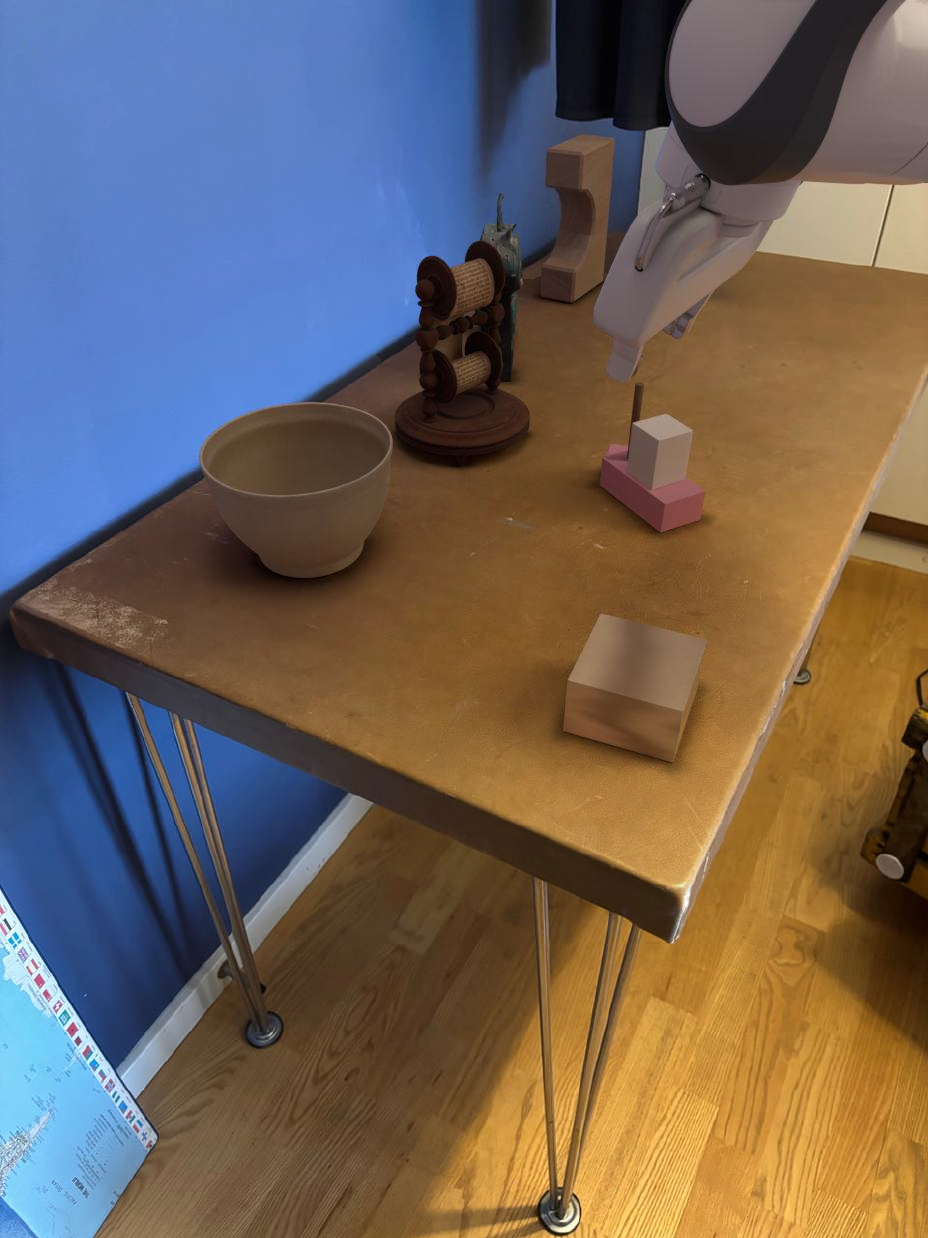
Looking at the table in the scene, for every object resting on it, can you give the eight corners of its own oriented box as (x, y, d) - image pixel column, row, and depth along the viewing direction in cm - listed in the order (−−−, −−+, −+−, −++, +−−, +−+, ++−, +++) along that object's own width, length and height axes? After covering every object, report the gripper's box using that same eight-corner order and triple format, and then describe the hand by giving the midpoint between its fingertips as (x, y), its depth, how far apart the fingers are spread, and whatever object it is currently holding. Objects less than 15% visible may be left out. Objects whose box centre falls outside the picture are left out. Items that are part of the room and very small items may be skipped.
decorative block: (572, 304, 132) (582, 152, 120) (537, 297, 134) (544, 148, 122) (604, 282, 139) (617, 137, 127) (571, 276, 142) (580, 132, 129)
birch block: (697, 689, 69) (707, 639, 66) (673, 763, 63) (683, 711, 60) (595, 662, 71) (600, 612, 68) (562, 731, 65) (567, 680, 62)
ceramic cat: (520, 387, 110) (526, 212, 98) (467, 387, 111) (466, 213, 98) (516, 325, 126) (521, 168, 113) (469, 325, 126) (469, 168, 113)
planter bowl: (187, 553, 83) (161, 446, 77) (324, 486, 92) (311, 386, 86) (295, 629, 75) (277, 516, 68) (435, 548, 84) (431, 441, 77)
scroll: (463, 394, 109) (461, 218, 97) (556, 434, 101) (567, 247, 88) (368, 435, 101) (353, 249, 89) (461, 483, 93) (458, 285, 80)
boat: (700, 519, 87) (719, 413, 80) (660, 533, 85) (676, 426, 78) (626, 465, 95) (638, 365, 88) (588, 476, 94) (597, 375, 87)
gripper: (712, 223, 49) (621, 429, 59) (824, 152, 62) (734, 330, 72) (614, 172, 51) (541, 382, 61) (744, 114, 64) (667, 293, 74)
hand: (647, 353), depth 67 cm, fingers open, 8 cm apart
